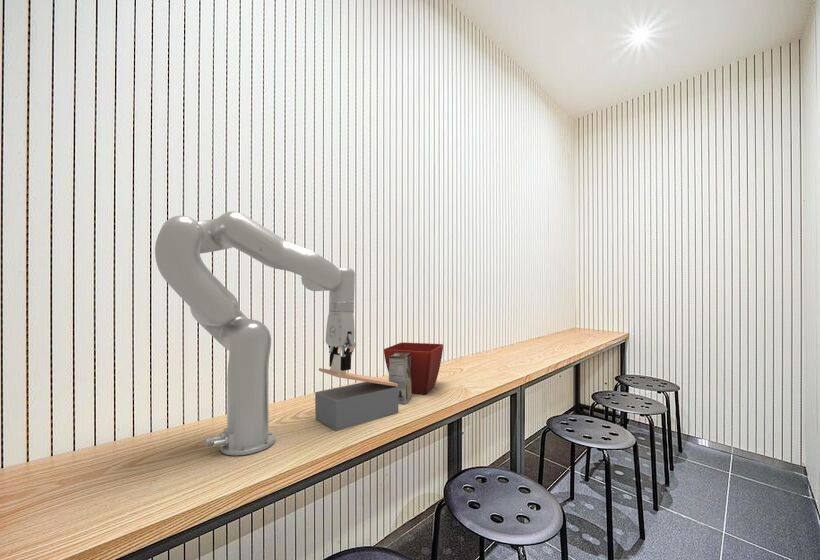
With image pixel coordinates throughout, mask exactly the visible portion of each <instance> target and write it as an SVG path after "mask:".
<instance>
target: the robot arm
mask: <svg viewBox="0 0 820 560" xmlns="http://www.w3.org/2000/svg"><path fill="white" fill-rule="evenodd" d="M232 248H234V249H235V250H238V251H239V252H241V253H243V254H245V255H247V256H249V257H250V258H252V259H254V260H256V261H258V262H260V263H261V264H263V265H265V267H266V266H267V267H270V268H273V269H276V270H281V271H287V272H290V273H293V274H295V275H298V276H301V277H300V279H301V280H300V281H301V284H302V285H303V287H304V288H306V289H307V290H309V291H311V292H327V291H329V294H328V295H329V296H328V298H329V299H328V301H329V302H328V315H327V321H326V327H325V328H326V331H325V343H326V345H327V346H328V350H329V351H328V353H329V362H328V363H329V367H330V368H331V364H332V360H333V356H334V354H336V355H340V354H341V356H343V357H341V370H342V371H344V370H346V371H350V370H352V356H353V352H354V350H355V349H356V347H357V345H356V341H355V338H356V337H355V334H356V332H355V331H356V330H355V316H354V314H355V288H356V287H355V286H356V285H355V284H356V283H355V282H356V281H355V280H356V275H355V274H356V273H355V270H354V269H353V268H349V267H337V266H336V265H335V264H334V263H332V262H331V261H330V260H328V259H326V258H324V257H323V256H322V255H320V254H318V253H316V252H315V251H313V250H310V249H308V248H305V247H304V246H301V245H298V244H297V243H294V242H291V241H289V240H287V239H284V238H283V237H281V236H279V235H278V234H276V233H275V232H273V231H271V230H270V229H268V228H266V227H265V226H263V225H262V224H260V223H259V222H257V221H255V220H254V219H253V218H250V217H249V216H247V215H246V214H244V213H241V212H238V211H233V210H232V211H227V212H224V213H222V214H221V215H219V216H218V217H216V218H211V219H206V220H198V221H197V220H196V219H194V218H192V217H190V216H187V215H176V216H172V217H170V218H168V219H167V220H166V221H165V222H164V223H163V224H162V226H161V228H160V230H159V233H158V234H157V237H156V240H155V247H154V255H155V256H154V257H155V262H156V267H157V269H158V271H159V273H160V275H161V277H162V278H163V280H164V281H165V282H166V283H167V284H168V285H169V286H170V288H171V289H172V290H174V292H175V293H176V294H177V295H178V296H179V298H180V299H182V300H183V301H184V302H185V303H186V305H188V306H189V309H190V313H191V316H192V317H193V318H194V320H195V321H196V322H197V323H198V324H199V325H200V326H201V327H202V328H203V329H204V330H205V331H206V332H207V333H208V334H210V335H211V336H212V337H213V338H214V339H215V340H216V341H217V343H219V344H220V345H221V346H222V347H223V348H224V349H226V350H227V351H229V355H228V364H227V379H226V381H227V383H226V385H227V393H226V394H227V396H226V397H227V398H226V399H227V404H226V405H227V409H226V412H227V413H226V415H227V417H226V418H227V422H226V423H227V425H226V426H227V427H226V428H223V432H220V433H219V434H217V435H212V436H208V437H205V439H204V445H205V447H209V446H213V447H214V448H216V447H219V450H220V452H221V453H222V454H224V455H227V456H245V455H251V454H255V453H258V452H261V451H264V450H266V449H268V448H270V447H271V446H272V445H273V444H274V443H275V441H276V435H275V434H274V433H273V432H271V431H269V368H270V367H269V365H270V356H271V355H270V354H271V348H272V347H271V346H272V337H271V332H270V330H269V328H268V327H267V326H266V324H264V323H263V322H261V321H259V320H257V319H251V318H249V317H247V316H246V314H244V313H243V312H242V310H241V309H240V304H239V301H238V299H237V297H236V296H235V295H234V294H233V293H232V292H231V291H230V290H229V289H228V288H227V287H225V285H223V283H222V282H221V281H220V280H219V279H218V278H217V277H216V276H215V275H214V274H213V273H212V272H211V270H210V269H209V268H208V267H207V266H206V264H205V263H204V262H203V259H202V258H201V254H206V253H212V252H217V251H222V250H229V249H232ZM340 349H341V353H340Z"/></svg>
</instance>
